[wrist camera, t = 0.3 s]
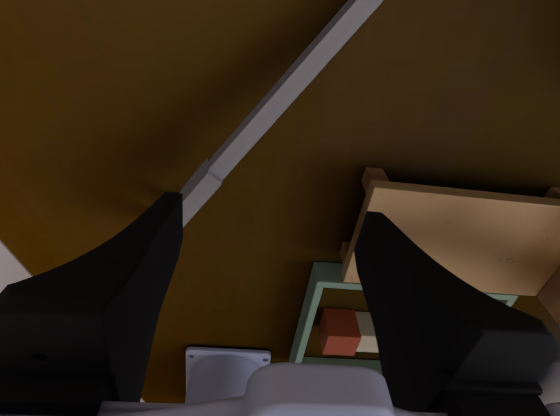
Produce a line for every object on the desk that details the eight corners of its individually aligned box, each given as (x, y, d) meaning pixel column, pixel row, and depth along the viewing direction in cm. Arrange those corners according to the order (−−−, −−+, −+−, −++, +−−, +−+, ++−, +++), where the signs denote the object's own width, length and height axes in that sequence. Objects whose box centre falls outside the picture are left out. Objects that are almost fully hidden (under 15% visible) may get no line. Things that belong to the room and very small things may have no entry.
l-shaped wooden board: (523, 269, 31) (577, 336, 25) (336, 254, 29) (352, 323, 24) (580, 186, 26) (661, 248, 21) (363, 163, 24) (391, 223, 19)
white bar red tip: (444, 333, 35) (457, 361, 33) (318, 325, 34) (322, 354, 32) (454, 316, 34) (469, 343, 31) (323, 307, 32) (328, 336, 30)
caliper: (163, 219, 26) (138, 285, 21) (150, 210, 26) (121, 276, 21) (398, -25, 18) (450, -14, 13) (384, -44, 18) (433, -40, 13)
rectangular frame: (443, 366, 38) (452, 387, 37) (288, 359, 37) (290, 380, 35) (504, 275, 31) (519, 296, 29) (313, 261, 29) (317, 281, 27)
